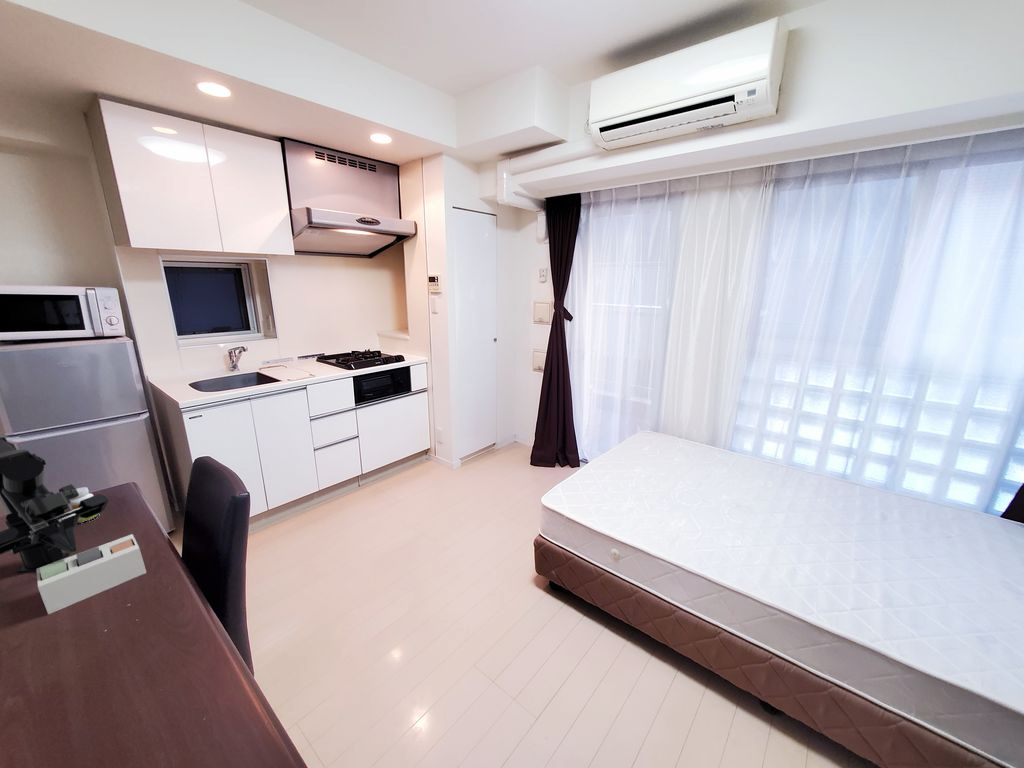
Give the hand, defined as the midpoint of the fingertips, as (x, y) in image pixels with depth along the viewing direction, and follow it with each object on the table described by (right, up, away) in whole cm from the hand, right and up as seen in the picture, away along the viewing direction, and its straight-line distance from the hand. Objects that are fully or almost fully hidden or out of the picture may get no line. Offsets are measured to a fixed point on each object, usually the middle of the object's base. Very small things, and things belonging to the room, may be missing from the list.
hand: (73, 551), depth 90 cm
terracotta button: (+5, -4, +7) cm, 9 cm away
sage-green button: (-2, -5, -2) cm, 5 cm away
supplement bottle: (-29, -3, +30) cm, 42 cm away
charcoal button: (+1, -4, +2) cm, 5 cm away
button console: (+2, -9, +4) cm, 10 cm away
